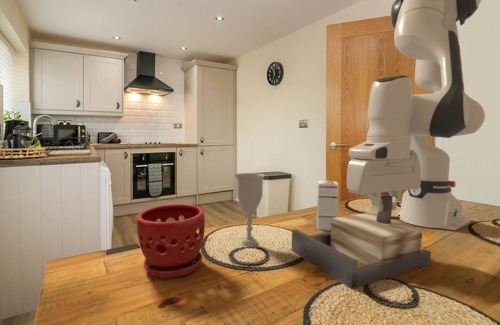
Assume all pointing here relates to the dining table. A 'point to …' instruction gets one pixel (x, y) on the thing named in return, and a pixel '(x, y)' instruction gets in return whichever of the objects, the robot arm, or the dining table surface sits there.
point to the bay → (352, 261)
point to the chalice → (249, 200)
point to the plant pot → (171, 239)
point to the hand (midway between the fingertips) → (384, 210)
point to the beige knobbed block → (374, 235)
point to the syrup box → (326, 204)
